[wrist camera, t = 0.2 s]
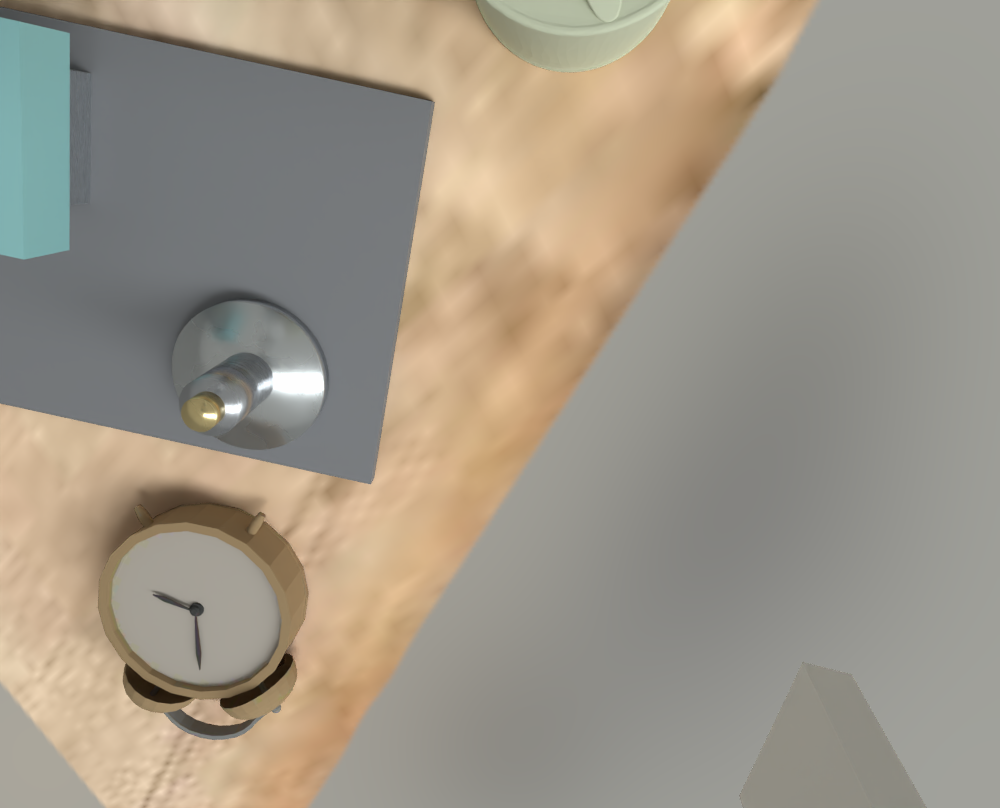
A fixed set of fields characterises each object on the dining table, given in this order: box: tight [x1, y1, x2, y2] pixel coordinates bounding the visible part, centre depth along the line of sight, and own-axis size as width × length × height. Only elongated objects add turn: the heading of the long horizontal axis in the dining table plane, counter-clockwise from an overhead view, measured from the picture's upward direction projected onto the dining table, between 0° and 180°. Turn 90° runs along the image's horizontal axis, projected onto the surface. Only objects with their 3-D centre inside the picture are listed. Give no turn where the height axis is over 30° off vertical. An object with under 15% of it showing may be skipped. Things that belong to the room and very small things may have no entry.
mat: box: [0, 7, 435, 484], centre depth 37 cm, size 20×26×1 cm
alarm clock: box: [98, 503, 308, 740], centre depth 43 cm, size 11×5×15 cm
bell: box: [172, 298, 329, 450], centre depth 36 cm, size 8×8×6 cm
